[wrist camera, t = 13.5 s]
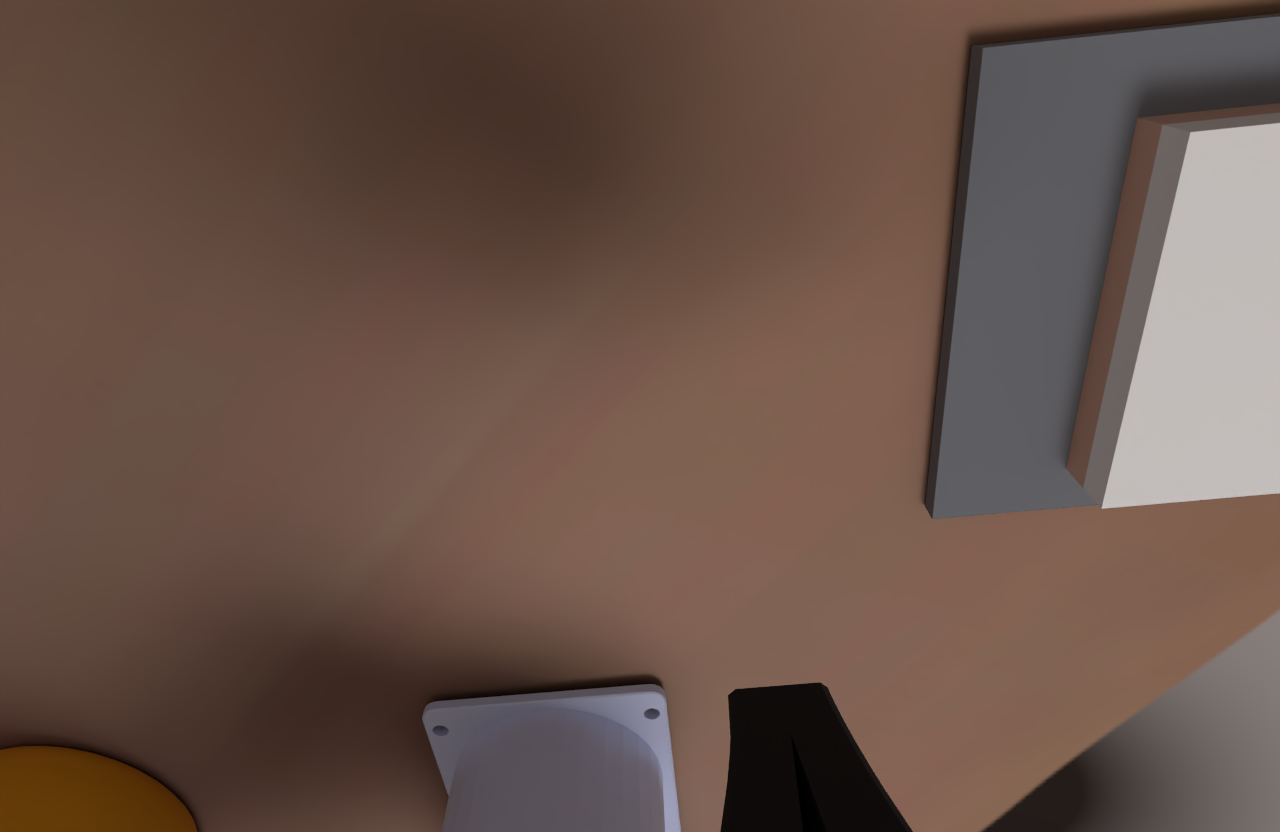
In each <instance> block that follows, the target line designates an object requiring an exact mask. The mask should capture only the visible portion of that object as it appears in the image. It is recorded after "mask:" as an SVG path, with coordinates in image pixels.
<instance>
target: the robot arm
mask: <svg viewBox="0 0 1280 832" xmlns="http://www.w3.org/2000/svg"><path fill="white" fill-rule="evenodd" d="M728 701H729V718H730V735H731V739H730V758H729V770H728V782H727V789H726V796H725V804H724V811H723V818H722V825H721V832H913V831H912V830H911V828H910V827H909V825H908V824H907V822H906V821H905V819H904V818H903V816H902V815H901V813H900V812H899V810H898V809H897V807H896V806H895V804H894V803H893V801H892V800H891V798H890V797H889V795H888V794H887V792H886V791H885V789H884V788H883V786H882V785H881V783H880V781H879V780H878V778H877V777H876V775H875V773H874V772H873V770H872V769H871V767H870V765H869V764H868V762H867V760H866V759H865V757H864V755H863V754H862V752H861V750H860V749H859V747H858V745H857V743H856V742H855V740H854V738H853V736H852V735H851V733H850V731H849V729H848V727H847V726H846V724H845V722H844V720H843V718H842V716H841V714H840V712H839V710H838V708H837V707H836V705H835V703H834V701H833V698H832V696H831V694H830V692H829V690H828V688H827V687H826V686H824V685H823V684H822V683H808V684H796V685H783V686H770V687H758V688H745V689H735V690H734V691H733V692H732V693H730V694H729V695H728ZM651 708H653V710H651ZM422 721H423V724H424V727H425V730H426V733H427V735H428V738H429V741H430V744H431V747H432V750H433V753H434V756H435V759H436V762H437V765H438V768H439V770H440V773H441V776H442V779H443V782H444V785H445V788H446V791H447V794H448V797H449V798H448V803H447V808H446V812H445V817H444V822H443V826H442V831H441V832H681V824H680V815H679V807H678V798H677V789H676V781H675V772H674V763H673V755H672V746H671V738H670V729H669V720H668V712H667V703H666V694H665V691H664V689H662V688H661V687H660V686H658V685H655V684H643V685H631V686H618V687H606V688H594V689H581V690H569V691H557V692H544V693H532V694H520V695H507V696H495V697H483V698H471V699H458V700H446V701H436V702H431V703H429V704H428V705H426V707H425V709H424V712H423V715H422Z"/></svg>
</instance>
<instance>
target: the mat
mask: <svg viewBox="0 0 1280 832" xmlns="http://www.w3.org/2000/svg"><path fill="white" fill-rule="evenodd" d="M1275 103H1280V13H1274V14H1265V15H1255V16H1246V17H1237V18H1227V19H1218V20H1208V21H1199V22H1190V23H1180V24H1171V25H1162V26H1152V27H1143V28H1133V29H1124V30H1115V31H1105V32H1096V33H1086V34H1077V35H1068V36H1058V37H1049V38H1039V39H1030V40H1021V41H1011V42H1002V43H993V44H983V45H974V46H972V48H971V58H970V68H969V78H968V88H967V98H966V108H965V117H964V127H963V137H962V147H961V157H960V167H959V177H958V187H957V197H956V207H955V216H954V226H953V236H952V246H951V256H950V266H949V276H948V286H947V296H946V306H945V315H944V325H943V335H942V345H941V355H940V365H939V375H938V385H937V395H936V405H935V414H934V424H933V434H932V444H931V454H930V464H929V474H928V484H927V494H926V503H925V507H926V509H927V511H928V512H929V514H930V516H931V518H932V519H940V518H951V517H963V516H974V515H985V514H997V513H1008V512H1020V511H1031V510H1043V509H1054V508H1066V507H1077V506H1089V505H1098V504H1097V503H1096V502H1095V501H1094V500H1093V499H1092V497H1091V496H1090V495H1089V494H1088V493H1087V492H1086V491H1085V490H1084V489H1083V487H1082V486H1081V485H1080V484H1079V483H1078V482H1077V481H1076V480H1075V479H1074V477H1073V476H1072V475H1071V474H1070V473H1069V472H1068V471H1067V470H1066V467H1067V462H1068V457H1069V452H1070V447H1071V442H1072V437H1073V432H1074V427H1075V422H1076V417H1077V413H1078V408H1079V403H1080V398H1081V393H1082V388H1083V383H1084V378H1085V373H1086V368H1087V363H1088V358H1089V353H1090V348H1091V343H1092V339H1093V334H1094V329H1095V324H1096V319H1097V314H1098V309H1099V304H1100V299H1101V294H1102V289H1103V284H1104V279H1105V274H1106V269H1107V265H1108V260H1109V255H1110V250H1111V245H1112V240H1113V235H1114V230H1115V225H1116V220H1117V215H1118V210H1119V205H1120V200H1121V195H1122V190H1123V186H1124V181H1125V176H1126V171H1127V166H1128V161H1129V156H1130V151H1131V146H1132V141H1133V136H1134V131H1135V126H1136V121H1137V118H1140V117H1150V116H1160V115H1169V114H1179V113H1189V112H1198V111H1208V110H1218V109H1227V108H1237V107H1246V106H1256V105H1266V104H1275Z"/></svg>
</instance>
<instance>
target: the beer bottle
mask: <svg viewBox="0 0 1280 832" xmlns="http://www.w3.org/2000/svg"><path fill="white" fill-rule="evenodd" d="M0 832H198V831H197V828H196V825H195V822H194V819H193V818H192V816H191V815H190V813H189V811H188V810H187V808H186V807H185V805H184V804H183V803H182V802H181V801H180V800H179V799H178V798H177V797H176V796H175V795H174V794H173V793H172V792H171V791H170V790H168V789H167V788H166V787H165V786H163V785H162V784H161V783H159V782H158V781H157V780H155V779H153V778H151V777H150V776H148V775H146V774H145V773H143V772H141V771H139V770H138V769H135V768H133V767H131V766H129V765H126V764H124V763H122V762H119V761H117V760H114V759H111V758H108V757H105V756H101V755H98V754H95V753H91V752H86V751H82V750H77V749H72V748H65V747H54V746H20V747H13V748H7V749H1V750H0Z"/></svg>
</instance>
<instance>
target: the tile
mask: <svg viewBox="0 0 1280 832" xmlns="http://www.w3.org/2000/svg"><path fill="white" fill-rule="evenodd" d="M1066 470H1067V471H1068V472H1069V473H1070V474H1071V475H1072V476H1073V477H1074V479H1075V480H1076V481H1077V482H1078V483H1079V484H1080V485H1081V486H1082V487H1083V489H1084V490H1085V491H1086V492H1087V493H1088V494H1089V495H1090V496H1091V497H1092V499H1093V500H1094V501H1095V502H1096V503H1097V504H1098V505H1099V506H1100V507H1101V509H1103V508H1114V507H1126V506H1137V505H1149V504H1160V503H1172V502H1183V501H1194V500H1206V499H1217V498H1229V497H1240V496H1251V495H1263V494H1274V493H1280V103H1275V104H1266V105H1256V106H1246V107H1237V108H1227V109H1218V110H1208V111H1198V112H1189V113H1179V114H1169V115H1160V116H1150V117H1140V118H1137V121H1136V126H1135V131H1134V136H1133V141H1132V146H1131V151H1130V156H1129V161H1128V166H1127V171H1126V176H1125V181H1124V186H1123V190H1122V195H1121V200H1120V205H1119V210H1118V215H1117V220H1116V225H1115V230H1114V235H1113V240H1112V245H1111V250H1110V255H1109V260H1108V265H1107V269H1106V274H1105V279H1104V284H1103V289H1102V294H1101V299H1100V304H1099V309H1098V314H1097V319H1096V324H1095V329H1094V334H1093V339H1092V343H1091V348H1090V353H1089V358H1088V363H1087V368H1086V373H1085V378H1084V383H1083V388H1082V393H1081V398H1080V403H1079V408H1078V413H1077V417H1076V422H1075V427H1074V432H1073V437H1072V442H1071V447H1070V452H1069V457H1068V462H1067V467H1066Z"/></svg>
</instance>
